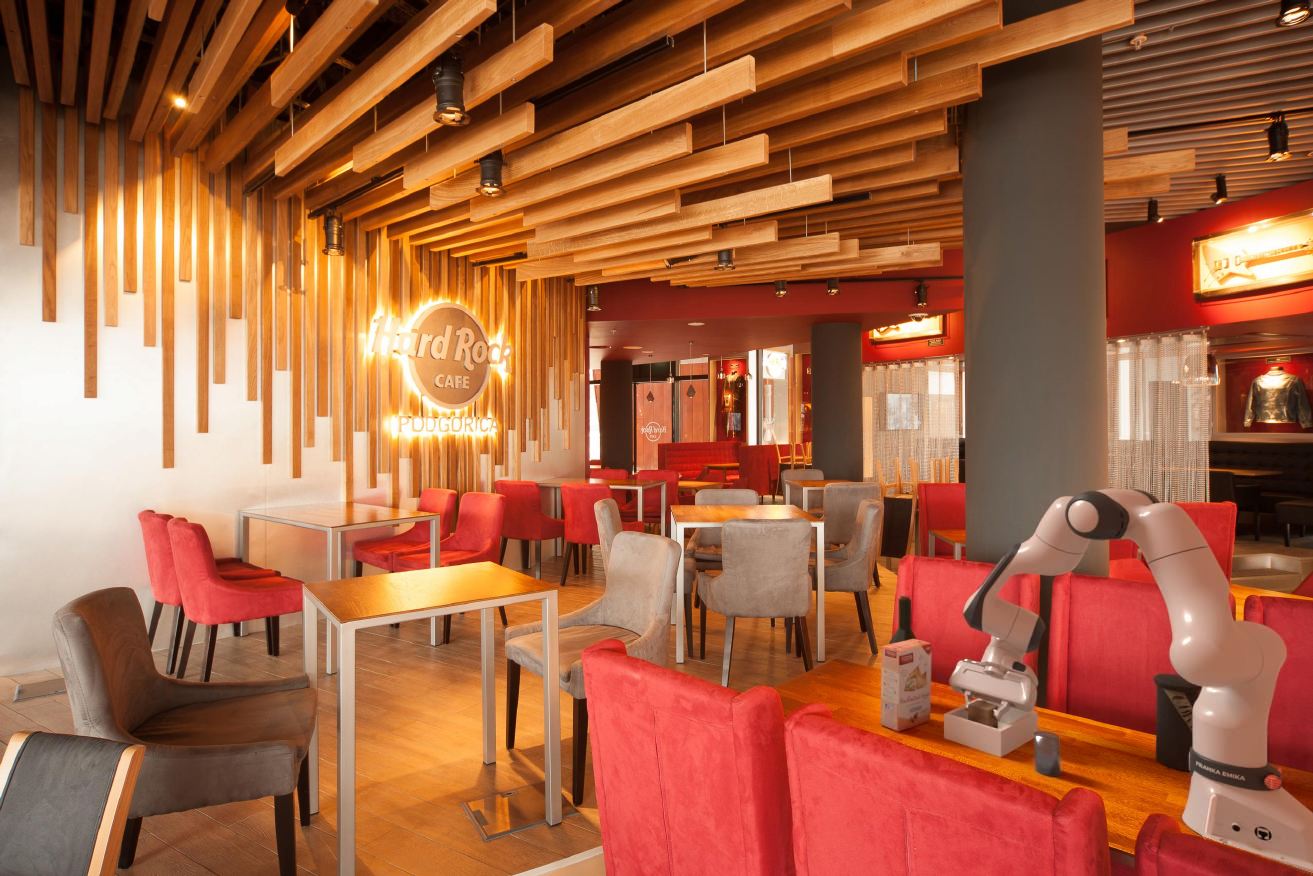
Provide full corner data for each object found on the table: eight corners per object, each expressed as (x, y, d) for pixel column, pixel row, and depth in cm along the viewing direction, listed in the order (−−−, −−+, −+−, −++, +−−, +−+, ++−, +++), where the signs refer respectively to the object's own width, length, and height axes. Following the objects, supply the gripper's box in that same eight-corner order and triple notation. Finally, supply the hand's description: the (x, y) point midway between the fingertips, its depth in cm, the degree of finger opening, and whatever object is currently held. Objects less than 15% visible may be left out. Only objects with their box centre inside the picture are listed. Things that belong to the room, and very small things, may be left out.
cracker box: (899, 733, 179) (899, 650, 179) (879, 725, 184) (880, 645, 184) (932, 721, 187) (932, 642, 187) (912, 714, 192) (912, 637, 192)
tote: (1037, 736, 178) (1037, 712, 178) (1000, 757, 166) (1000, 731, 166) (982, 719, 189) (982, 696, 189) (944, 738, 176) (944, 714, 176)
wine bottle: (882, 699, 203) (883, 595, 204) (904, 695, 207) (905, 592, 207) (904, 709, 196) (904, 600, 196) (926, 705, 199) (927, 598, 200)
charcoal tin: (1063, 770, 159) (1061, 734, 159) (1057, 778, 155) (1056, 741, 155) (1038, 764, 162) (1037, 729, 162) (1032, 772, 158) (1031, 736, 158)
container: (1182, 774, 158) (1181, 684, 158) (1144, 757, 166) (1144, 672, 167) (1211, 770, 160) (1211, 681, 160) (1172, 753, 169) (1172, 669, 169)
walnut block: (997, 738, 174) (997, 705, 174) (988, 743, 171) (988, 710, 171) (977, 732, 178) (977, 700, 178) (968, 737, 175) (968, 704, 175)
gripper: (956, 650, 187) (937, 695, 181) (1037, 669, 171) (1019, 719, 165) (964, 664, 190) (945, 709, 183) (1045, 684, 174) (1027, 734, 168)
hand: (981, 714), depth 174 cm, fingers open, 5 cm apart
